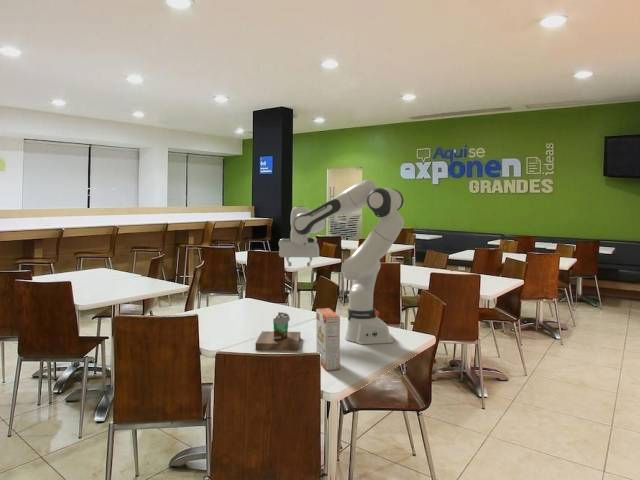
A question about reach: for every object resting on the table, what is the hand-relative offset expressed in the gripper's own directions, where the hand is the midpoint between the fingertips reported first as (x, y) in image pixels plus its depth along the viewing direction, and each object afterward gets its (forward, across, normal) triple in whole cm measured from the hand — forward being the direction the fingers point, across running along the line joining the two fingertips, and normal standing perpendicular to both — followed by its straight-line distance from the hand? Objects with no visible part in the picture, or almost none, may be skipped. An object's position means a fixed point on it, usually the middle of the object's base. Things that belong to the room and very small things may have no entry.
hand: (299, 266), depth 232 cm
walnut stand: (+31, -7, -28) cm, 42 cm away
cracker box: (+31, +15, -53) cm, 63 cm away
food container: (+28, -5, -28) cm, 40 cm away
